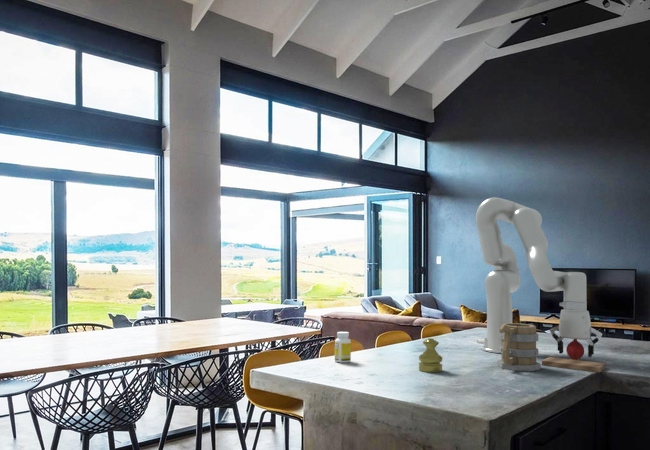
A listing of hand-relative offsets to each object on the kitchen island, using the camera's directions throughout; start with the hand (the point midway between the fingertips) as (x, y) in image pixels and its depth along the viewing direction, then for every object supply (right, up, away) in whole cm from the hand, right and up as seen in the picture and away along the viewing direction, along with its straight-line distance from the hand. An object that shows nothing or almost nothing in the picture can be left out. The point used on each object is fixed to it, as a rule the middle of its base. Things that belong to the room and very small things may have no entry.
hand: (575, 354), depth 198 cm
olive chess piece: (-56, 0, -22) cm, 60 cm away
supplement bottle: (-84, 0, -10) cm, 84 cm away
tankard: (-28, -1, -17) cm, 32 cm away
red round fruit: (0, -2, 0) cm, 2 cm away
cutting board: (-6, -1, -11) cm, 12 cm away
